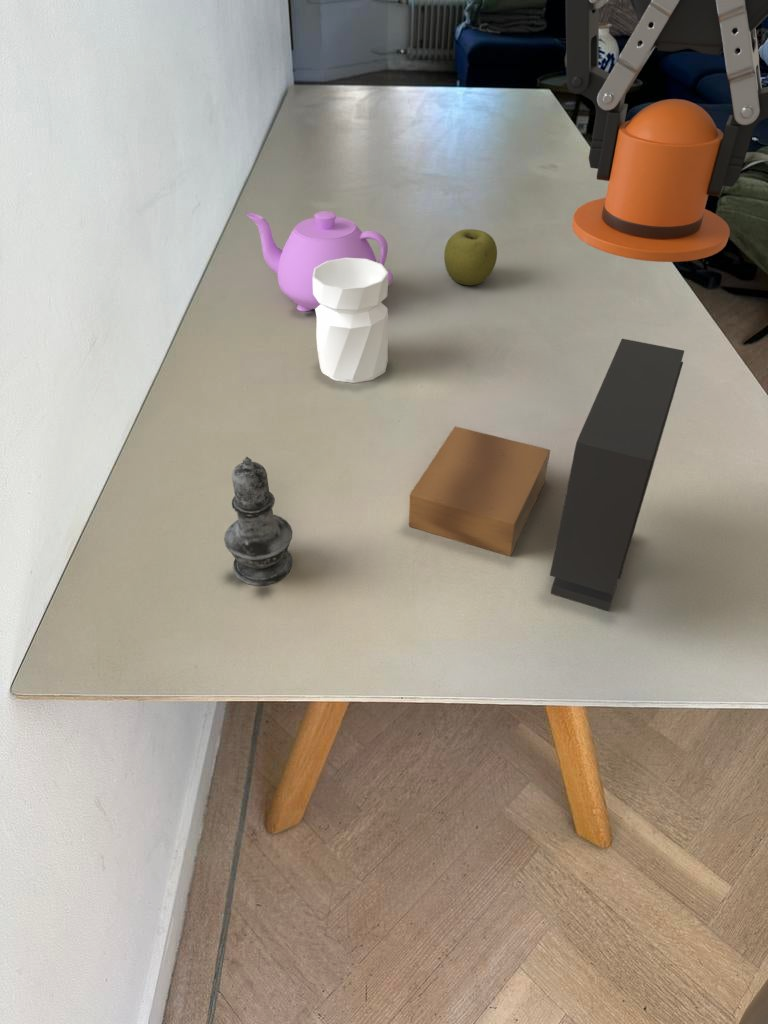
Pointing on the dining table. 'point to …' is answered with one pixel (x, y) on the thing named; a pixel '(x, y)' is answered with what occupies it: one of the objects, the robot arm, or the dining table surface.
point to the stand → (479, 490)
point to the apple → (470, 256)
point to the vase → (351, 319)
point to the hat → (659, 188)
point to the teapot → (315, 252)
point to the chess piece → (257, 529)
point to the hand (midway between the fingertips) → (659, 182)
